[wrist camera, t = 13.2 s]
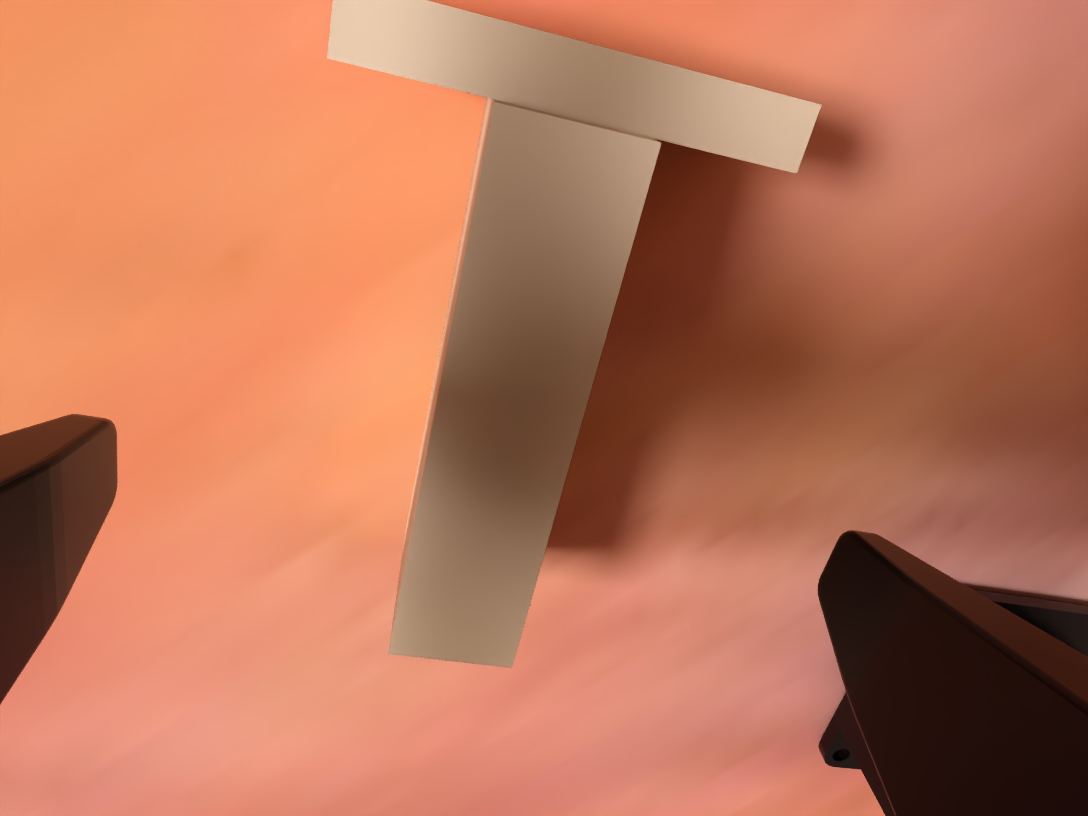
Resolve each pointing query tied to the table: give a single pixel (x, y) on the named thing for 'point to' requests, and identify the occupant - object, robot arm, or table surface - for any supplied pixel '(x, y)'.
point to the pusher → (531, 284)
